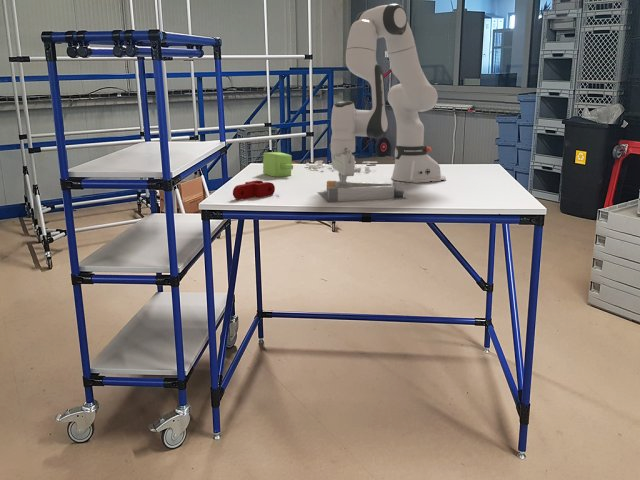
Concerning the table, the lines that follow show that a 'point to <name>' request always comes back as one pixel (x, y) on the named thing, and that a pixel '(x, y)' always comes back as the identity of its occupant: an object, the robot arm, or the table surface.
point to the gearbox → (277, 164)
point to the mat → (325, 194)
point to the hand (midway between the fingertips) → (342, 184)
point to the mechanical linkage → (253, 190)
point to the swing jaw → (354, 184)
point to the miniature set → (319, 163)
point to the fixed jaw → (366, 193)
